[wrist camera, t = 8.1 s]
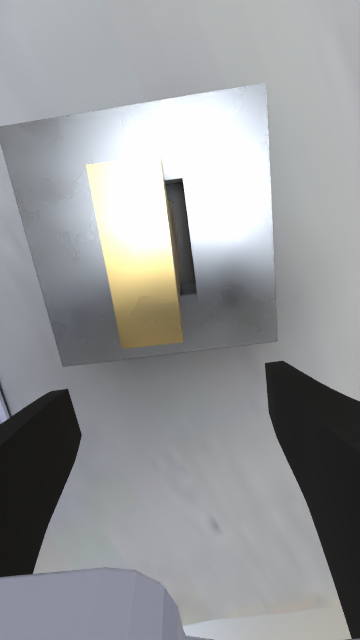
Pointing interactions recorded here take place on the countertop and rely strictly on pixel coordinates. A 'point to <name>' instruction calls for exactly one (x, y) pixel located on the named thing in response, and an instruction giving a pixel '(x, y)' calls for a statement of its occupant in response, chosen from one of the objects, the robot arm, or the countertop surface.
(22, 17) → the countertop surface
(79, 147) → the metal plate with slot
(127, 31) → the countertop surface
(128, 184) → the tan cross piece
